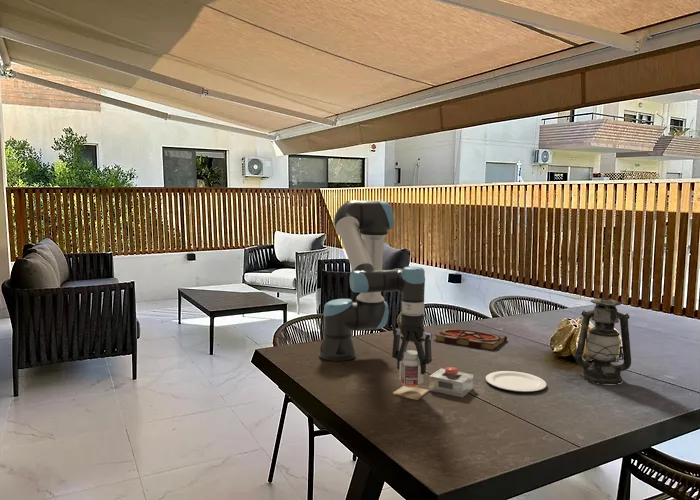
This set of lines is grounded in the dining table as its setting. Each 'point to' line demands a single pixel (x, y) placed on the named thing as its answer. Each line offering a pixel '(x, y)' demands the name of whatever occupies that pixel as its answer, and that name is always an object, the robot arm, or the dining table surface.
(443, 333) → the book
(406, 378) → the pill bottle
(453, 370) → the lever
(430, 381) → the grey boxy piece
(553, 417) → the dining table surface
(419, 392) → the cork pad
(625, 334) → the lantern
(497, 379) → the plate
